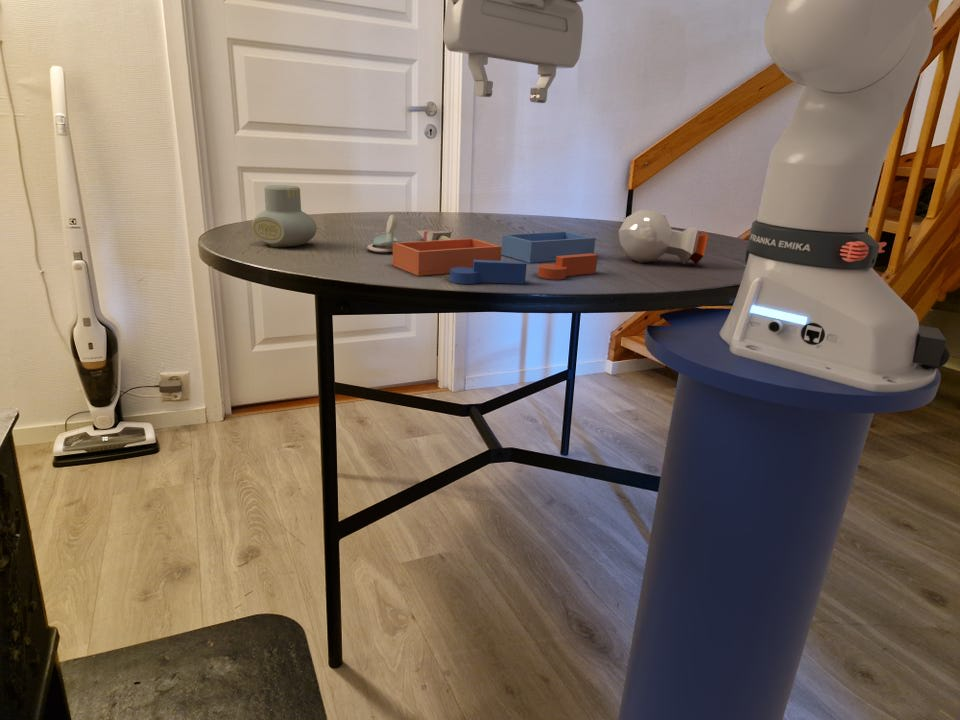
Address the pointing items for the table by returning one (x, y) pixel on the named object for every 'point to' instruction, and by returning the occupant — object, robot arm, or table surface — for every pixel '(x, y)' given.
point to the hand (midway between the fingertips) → (511, 99)
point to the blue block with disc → (490, 272)
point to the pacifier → (386, 238)
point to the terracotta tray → (442, 255)
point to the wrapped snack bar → (434, 235)
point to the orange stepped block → (569, 266)
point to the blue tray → (545, 245)
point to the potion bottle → (659, 238)
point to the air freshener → (283, 218)
